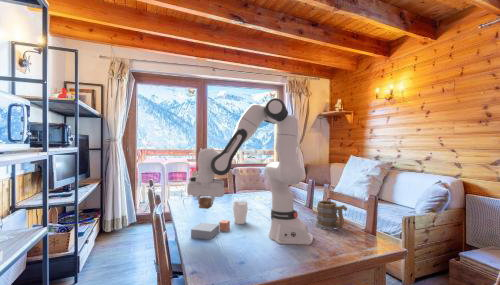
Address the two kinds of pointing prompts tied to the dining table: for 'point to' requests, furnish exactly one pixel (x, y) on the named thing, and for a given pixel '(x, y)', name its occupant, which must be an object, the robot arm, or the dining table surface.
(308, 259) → the dining table surface
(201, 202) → the walnut cube
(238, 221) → the cup
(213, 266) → the dining table surface
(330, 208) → the tankard
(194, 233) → the plinth
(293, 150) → the robot arm
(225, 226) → the terracotta cube
